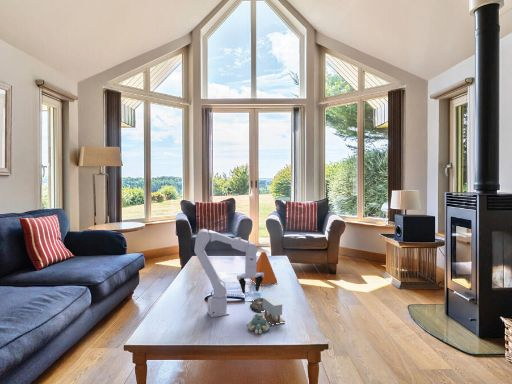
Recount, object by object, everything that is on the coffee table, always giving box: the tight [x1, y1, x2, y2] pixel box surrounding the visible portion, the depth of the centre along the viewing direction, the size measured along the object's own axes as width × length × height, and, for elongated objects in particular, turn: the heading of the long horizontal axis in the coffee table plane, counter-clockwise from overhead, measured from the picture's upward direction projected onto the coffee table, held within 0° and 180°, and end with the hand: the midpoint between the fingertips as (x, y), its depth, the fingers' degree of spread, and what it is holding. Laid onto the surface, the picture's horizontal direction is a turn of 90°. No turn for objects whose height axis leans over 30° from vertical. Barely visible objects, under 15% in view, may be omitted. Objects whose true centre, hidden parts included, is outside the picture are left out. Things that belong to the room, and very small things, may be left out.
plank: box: [262, 296, 283, 316], centre depth 162 cm, size 4×12×5 cm, turn 25°
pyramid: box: [249, 251, 278, 285], centre depth 224 cm, size 16×16×20 cm
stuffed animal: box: [246, 313, 271, 335], centre depth 151 cm, size 11×7×12 cm
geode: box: [249, 297, 265, 313], centre depth 179 cm, size 19×4×15 cm
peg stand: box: [259, 310, 286, 325], centre depth 162 cm, size 7×13×4 cm, turn 25°
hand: (250, 291), depth 171 cm, fingers open, 7 cm apart
